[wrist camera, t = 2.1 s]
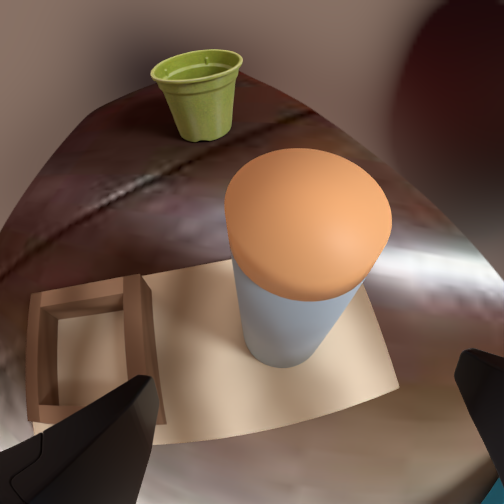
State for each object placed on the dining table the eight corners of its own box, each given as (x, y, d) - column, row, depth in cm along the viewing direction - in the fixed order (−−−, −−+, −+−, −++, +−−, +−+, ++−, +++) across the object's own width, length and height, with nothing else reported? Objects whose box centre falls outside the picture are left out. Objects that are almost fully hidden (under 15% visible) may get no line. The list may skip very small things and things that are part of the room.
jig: (340, 245, 23) (351, 217, 20) (393, 389, 17) (417, 381, 14) (41, 300, 21) (18, 282, 18) (42, 439, 14) (13, 436, 11)
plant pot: (150, 135, 32) (133, 73, 25) (207, 102, 36) (200, 45, 28) (202, 164, 29) (189, 88, 21) (261, 124, 32) (262, 57, 25)
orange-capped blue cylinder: (324, 365, 17) (411, 272, 7) (243, 369, 17) (220, 280, 7) (316, 293, 20) (366, 151, 10) (243, 296, 20) (228, 149, 10)
